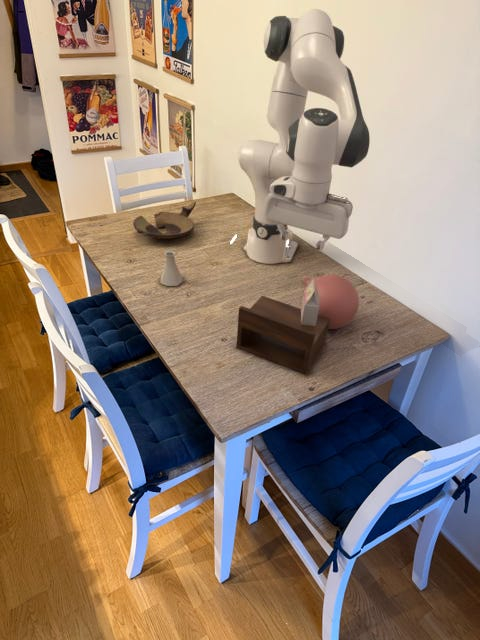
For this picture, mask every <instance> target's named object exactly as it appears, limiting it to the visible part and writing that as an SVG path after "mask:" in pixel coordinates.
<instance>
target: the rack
mask: <svg viewBox="0 0 480 640" xmlns="http://www.w3.org/2000/svg"><path fill="white" fill-rule="evenodd" d="M237 317H238V318H237V331H236V347H235V348H236V349H239V350H241V351H244V352H245V353H248V354H251V355H254V356H255V357H259V358H261V359H263V360H266V361H268V362H271V363H273V364H276V365H278V366H281V367H283V368H286V369H289V370H292V371H293V372H296V373H299V374H301V375H304V376H307V375H308V372H309V371H310V369H311V368H312V366H313V365H314V363H315V361H316V360H317V358H318V356H319V355H320V353H321V351H322V350H323V348H324V347H325V346H326V345H325V344H326V341H327V340H326V339H327V336H328V332H329V329H328V328H329V323H330V319H329V318H326V317H323V316H320V315H318V316H317V321H316V326H312V325H303V324H301V307H297V306H294V305H291V304H288V303H285V302H282V301H279V300H276V299H273V298H270V297H269V296H265V295H261V296H260V297H259V298H258V299H257V300H256V301H255V303H253V305H252V306H251V307H250V308H248V307H246V306H243V305H240V307H239V308H238V316H237Z"/></svg>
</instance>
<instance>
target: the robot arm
mask: <svg viewBox="0 0 480 640" xmlns="http://www.w3.org/2000/svg"><path fill="white" fill-rule="evenodd" d="M263 48H264V54H265V55H266V58H268V59H270V60H271V61H273V62H278V64H277V66H276V69H275V73H274V76H273V80H272V83H271V89H270V95H269V100H268V107H267V112H266V118H267V119H266V120H267V122H268V124H269V126H270V127H271V128H272V129H273V130H275V131H276V132H277V134H278V137H279V142H273V141H268V140H263V139H252V140H250V139H249V140H246V141H245V142H244V143H243V144H242V145H241V147H240V149H239V152H238V157H237V158H238V164H239V166H240V168H241V170H242V171H243V172H244V173H245V174H246V176H247V178H248V179H249V181H250V183H251V185H252V188H253V191H254V200H255V202H254V203H255V204H254V215H253V217H252V226H251V228H249V229H248V234H247V241H246V244H244V245H243V250H244V251H245V253H246V255H247V257H248V258H249V259H250V260H252V261H253V262H257V263H259V264H265V265H273V264H280V263H281V264H282V263H291V262H292V259H293V257H294V255H295V254H296V251H297V249H298V242H297V241H295V240H293V238H294V232H293V230H291V229H290V228H289V227H292V228H293V227H294V228H297V229H299V230H300V229H301V230H304V231H308V232H313V233H315V234H318V235H322V239H323V240H318V242H317V243H316V247H315V250H317V251H321V252H322V251H323V250H324V248H325V245H326V243H327V242H328V240H330V239H331V238H334V239H338V240H340V239H342V238H344V237H345V236H346V235H347V233H348V231H349V222H350V217H351V216H352V214H353V209H354V206H353V205H354V204H353V203H352V201H350V200H349V198H347V197H345V196H338V195H336V194H332V193H330V191H331V185H332V179H333V173H332V168H333V165H334V166H339V167H345V168H355V166H357V165H358V164H360V163H361V162H362V161H363V160H365V159H366V157H367V156H368V153H369V148H370V143H371V141H370V139H371V137H370V131H369V127H368V124H367V123H366V121H365V117H364V115H363V112H362V107H361V103H360V99H359V95H358V91H357V86H356V83H355V79H354V76H353V73H352V70H351V69H350V68H349V67H348V66H347V65H345V64H344V62H342V60H341V58H342V57H343V54H344V49H345V35H344V32H343V30H341V28H339V27H337V26H334V25H333V22H332V19H331V17H330V15H329V14H328V13H327V12H326V11H324V10H322V9H318V8H312V9H309V10H307V11H305V12H304V13H302V14H301V15H300V16H299V18H297V17H287V16H286V15H276V16H274V17H273V18H272V19H270V20H269V22H268V25H267V26H266V28H265V30H264V34H263ZM309 92H311V93H313V94H318V95H320V96H324V97H325V98H328V99H330V100H331V101H333V102H335V104H336V105H337V108H338V111H339V116H340V119H339V116H338V115H337V114H336V113H335V112H334V111H332V110H330V109H327V108H322V107H313V108H309V109H307V110H305V109H306V105H307V99H308V93H309ZM288 226H289V227H288ZM237 237H238V236H237V234H235V235H234V236H233V237H232V239H231V241H230V245H232V244H233V242H234V241H235V240H236V238H237Z"/></svg>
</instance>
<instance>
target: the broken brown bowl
mask: <svg viewBox="0 0 480 640" xmlns="http://www.w3.org/2000/svg"><path fill="white" fill-rule="evenodd" d="M196 204H197V202H196V201H191V203H190V204H189V205H186V206H182V207H181V213H176V212H169V211H159V212H158V213H154V222H155V225H156V226H154V225H153V224H151V222H149V221H148V220H147V219H145V217H144V216H143V215H139V216H137V217H135V218H134V220H133V222H132V224H133V228H134V229H135V231H136V233H137V234H141V235H143V236H146V237H152V238H156V239H172V238H173V239H174V238H180V237H182V236H185V235H188V234H190V233H191V232H193V230H194V228H195V223H194V221H193V220H192V219H190V218H189V216H190V215H191V213H192V211H194V209H195V207H196ZM163 228H165V229H166V231H167V232H165V233H163V232H162V231H160V230H159V229H163Z"/></svg>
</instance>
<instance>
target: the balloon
mask: <svg viewBox="0 0 480 640" xmlns="http://www.w3.org/2000/svg"><path fill="white" fill-rule="evenodd" d="M312 279H313V280H314V281H315V285H316V287H317V290H318V294H319V311H318V315H320V316H323V317H326V318H329V319H330V323H329V328H328V330H335V329H339V328H342V327H344V326H346V325H348V324H349V323H350V322H351V321H352V320H353V319H354V318H355V317H356V315H357V313H358V310H359V307H360V306H359V305H360V297H359V293H358V290H357V289H356V286H355V285H354V284H353V283H352V281H350V280H349V279H348V278H347V277H345V276H343V275H339V274H335V273H330V274H324V275H320V276H318V277H315V276H313V277H311V276H308V275H303V278H302V279H301V284H302V285H303V286H304V287H305V289H306V288H307V286H308V285H309V284H310V282H311V281H312Z"/></svg>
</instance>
